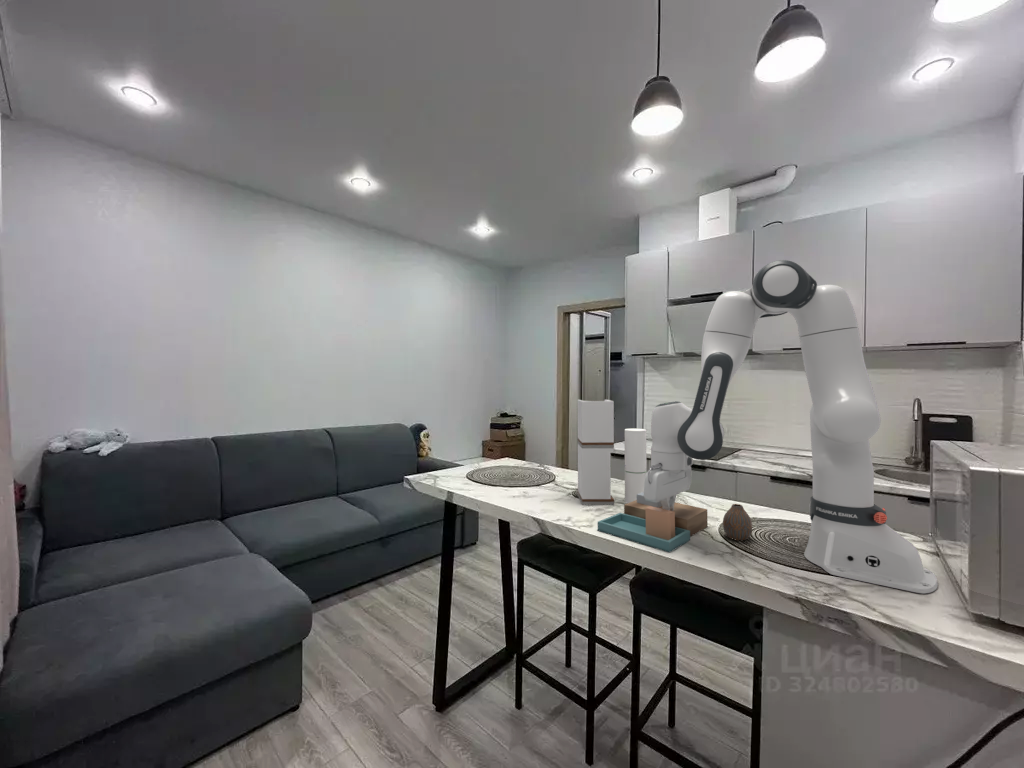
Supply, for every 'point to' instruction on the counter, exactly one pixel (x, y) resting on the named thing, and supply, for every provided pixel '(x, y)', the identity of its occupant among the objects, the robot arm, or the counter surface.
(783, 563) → the counter surface
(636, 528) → the tray
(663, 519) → the terracotta tile
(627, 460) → the cylindrical container
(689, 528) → the block
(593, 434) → the white stacked pillar
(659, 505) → the slate tile
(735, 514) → the vase
